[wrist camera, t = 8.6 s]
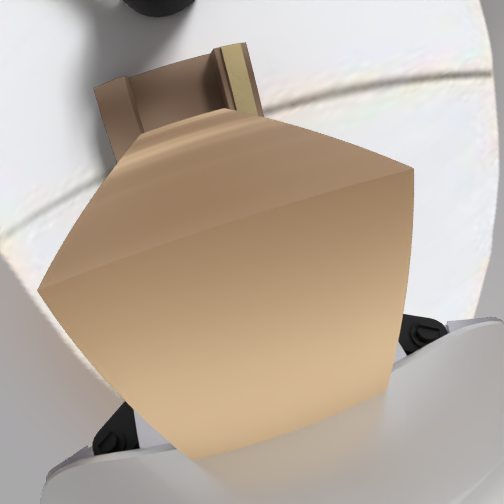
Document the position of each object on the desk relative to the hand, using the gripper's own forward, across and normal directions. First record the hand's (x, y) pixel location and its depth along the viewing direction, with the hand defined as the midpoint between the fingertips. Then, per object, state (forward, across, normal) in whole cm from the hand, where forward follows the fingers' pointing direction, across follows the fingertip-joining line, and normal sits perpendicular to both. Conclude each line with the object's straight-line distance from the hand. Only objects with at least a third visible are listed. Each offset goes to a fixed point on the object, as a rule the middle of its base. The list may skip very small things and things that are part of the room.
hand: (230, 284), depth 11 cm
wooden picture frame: (+1, 0, 0) cm, 1 cm away
